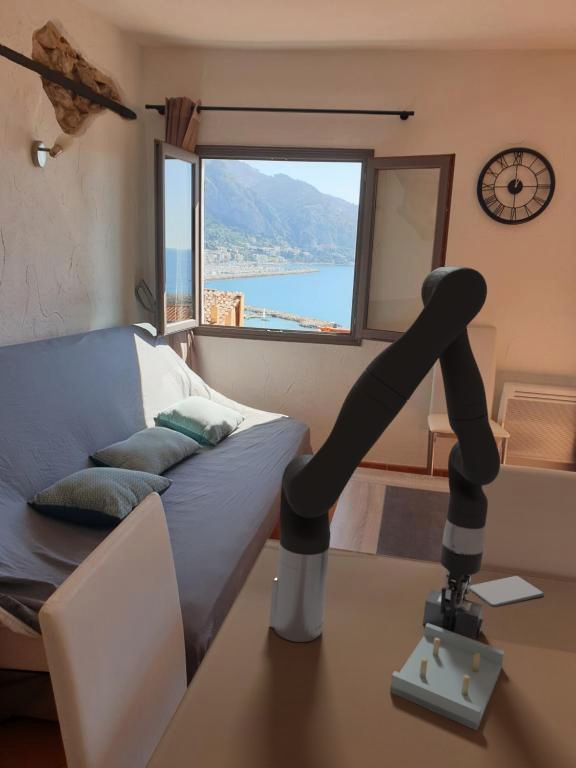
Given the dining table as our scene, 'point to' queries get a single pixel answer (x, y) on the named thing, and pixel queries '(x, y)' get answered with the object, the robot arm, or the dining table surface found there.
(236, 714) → the dining table surface
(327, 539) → the robot arm
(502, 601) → the smartphone
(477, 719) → the tray
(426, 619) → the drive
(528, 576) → the dining table surface
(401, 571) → the dining table surface
